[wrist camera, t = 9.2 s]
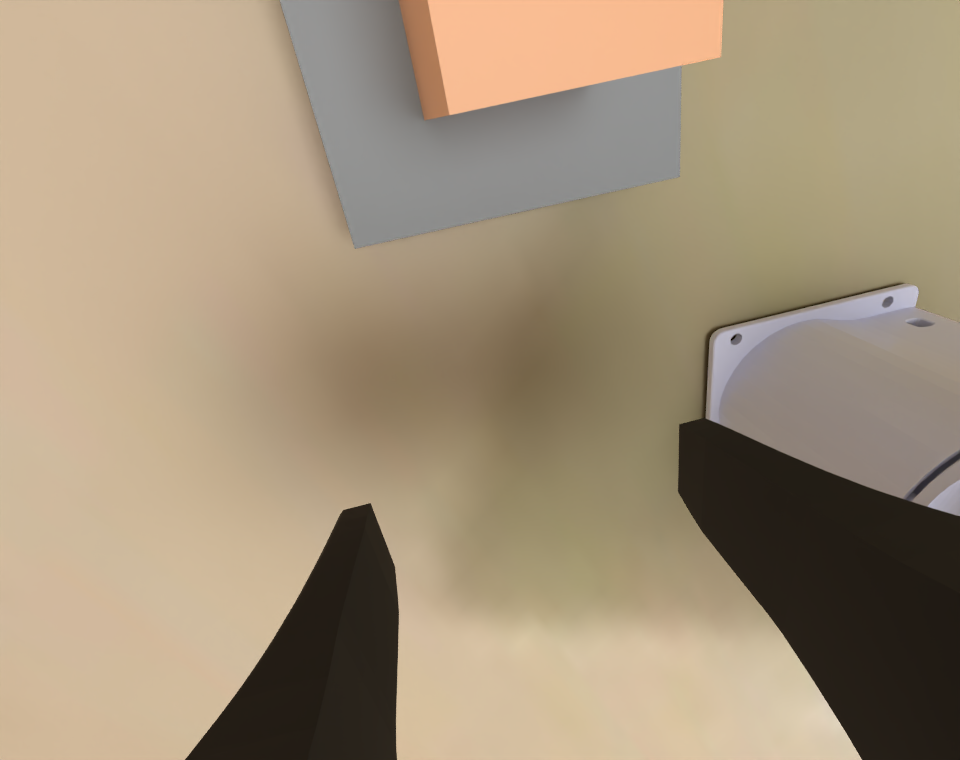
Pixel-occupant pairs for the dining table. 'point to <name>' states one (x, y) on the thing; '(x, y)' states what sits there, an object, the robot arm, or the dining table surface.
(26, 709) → the dining table surface
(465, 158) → the slate base
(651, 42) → the terracotta block
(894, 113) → the dining table surface
